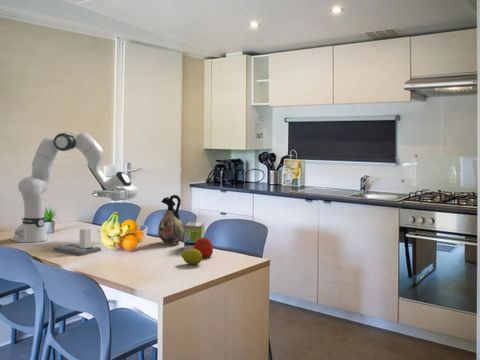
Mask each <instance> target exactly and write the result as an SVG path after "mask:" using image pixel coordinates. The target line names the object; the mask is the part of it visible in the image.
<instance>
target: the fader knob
mask: <svg viewBox="0 0 480 360" xmlns="http://www.w3.org/2000/svg"><path fill="white" fill-rule="evenodd" d="M91 233H92V232H91V228H88V227H87V228H86V227H84V228H80V229H79V244H80V247H78V248H80V249H90V248H93V247H91V246H92V243H91V241H92V240H91V239H92V238H91V237H92V236H91V235H92V234H91Z"/></svg>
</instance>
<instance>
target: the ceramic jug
mask: <svg viewBox="0 0 480 360" xmlns="http://www.w3.org/2000/svg"><path fill="white" fill-rule="evenodd" d="M174 199H176V200H177V205H176V202H175V201H174ZM161 203H162V204H164V205H166V206H167V210H166V211H165V213H164V214H163V217H162V218H161V220H160V222H159V225H158V230H157V233H158V237H159V238H160V240H161V241H162V242H164V243H166V244H165V245H167V244H173V245H175V244H174V243H179V244H180V240H181V239H182V238H183V237H184V234H185V228H184V225H183V221H182V220H181V218H180V214H179V210H180V207H181V198H180V196H179V195H177V194H173V195H170V197H169V196H167V197H164V198H163V199H162V200H161ZM174 206H176V209H175V208H174Z"/></svg>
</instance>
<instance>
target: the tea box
mask: <svg viewBox="0 0 480 360" xmlns="http://www.w3.org/2000/svg"><path fill="white" fill-rule="evenodd" d="M183 237H184V241H183V252H184V251H186V250H188V249H194V245H195V243H196V241H197V240H198V239H199V238H205V222H195V221H194V222H191V221H188V222H187V223H186V224H185V225H184V233H183Z"/></svg>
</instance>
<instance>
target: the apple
mask: <svg viewBox="0 0 480 360" xmlns="http://www.w3.org/2000/svg"><path fill="white" fill-rule="evenodd" d="M194 249H197V250H199V251H200V252H201V254H202V258H210V257H211V256H212V255H213V252H214V248H213V243H212V241H211V240H210V239H209V238H208V237H204V238H199V239H198V240H197V241H196V243H195V245H194Z"/></svg>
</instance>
